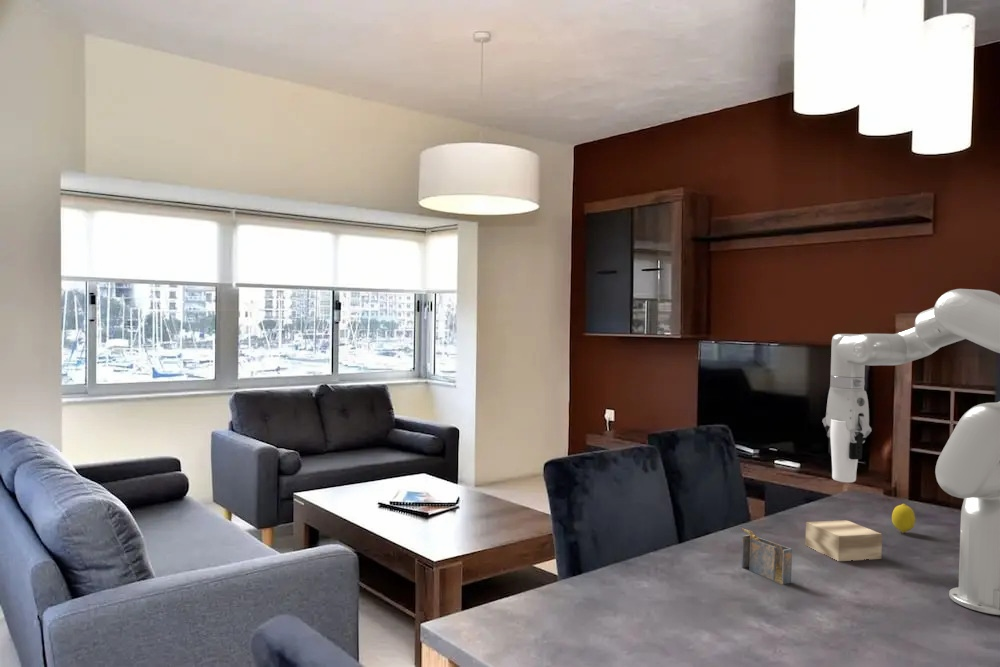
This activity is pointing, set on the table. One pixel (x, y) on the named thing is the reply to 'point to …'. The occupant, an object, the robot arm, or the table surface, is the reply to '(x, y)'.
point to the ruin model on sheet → (766, 558)
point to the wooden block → (843, 540)
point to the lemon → (903, 518)
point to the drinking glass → (842, 453)
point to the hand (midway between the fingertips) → (844, 455)
